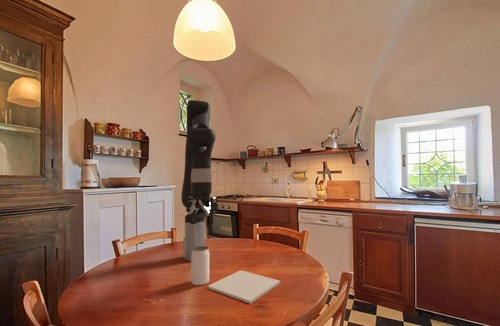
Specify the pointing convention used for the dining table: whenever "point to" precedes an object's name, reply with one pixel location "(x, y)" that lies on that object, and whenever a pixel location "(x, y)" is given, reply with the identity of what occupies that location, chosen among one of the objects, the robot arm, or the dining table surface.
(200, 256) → the can
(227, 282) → the tile mat
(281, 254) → the dining table surface
